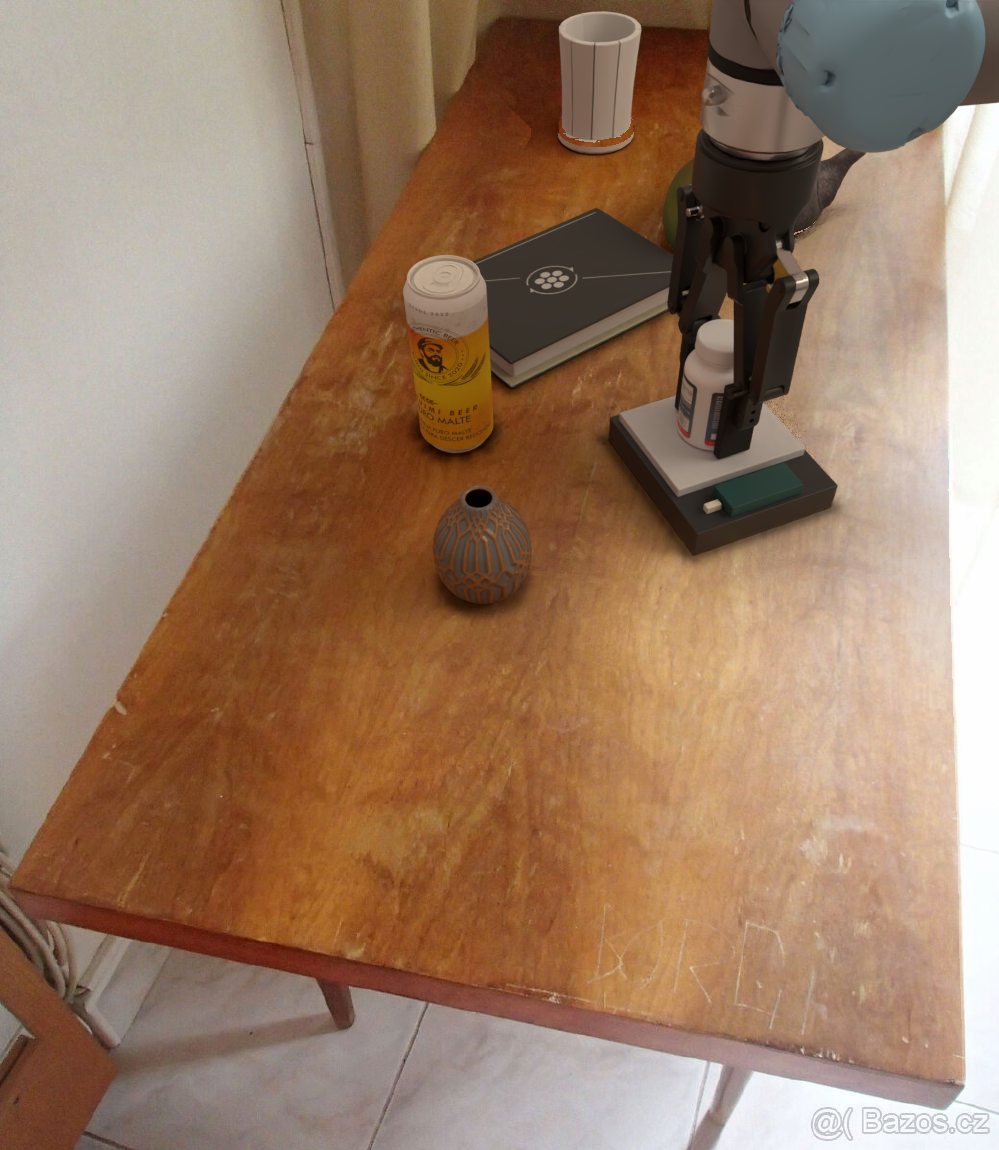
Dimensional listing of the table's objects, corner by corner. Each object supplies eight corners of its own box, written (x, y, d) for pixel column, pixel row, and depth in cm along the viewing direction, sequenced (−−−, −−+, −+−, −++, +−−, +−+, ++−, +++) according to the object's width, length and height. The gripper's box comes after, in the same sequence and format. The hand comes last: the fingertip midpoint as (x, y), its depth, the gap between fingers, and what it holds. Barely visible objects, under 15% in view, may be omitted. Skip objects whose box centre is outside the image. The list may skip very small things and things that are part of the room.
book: (593, 233, 102) (595, 205, 99) (694, 298, 94) (698, 270, 91) (418, 311, 94) (414, 284, 91) (511, 390, 86) (510, 362, 84)
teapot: (856, 251, 98) (883, 154, 90) (699, 248, 99) (711, 151, 92) (835, 157, 110) (857, 64, 102) (695, 155, 111) (706, 63, 104)
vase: (533, 618, 70) (532, 534, 63) (435, 620, 70) (424, 537, 63) (530, 545, 74) (529, 459, 67) (438, 547, 74) (428, 462, 68)
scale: (831, 507, 76) (841, 475, 73) (693, 556, 73) (698, 524, 70) (734, 399, 84) (740, 367, 81) (608, 439, 81) (610, 407, 79)
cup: (537, 124, 117) (537, 16, 108) (605, 107, 120) (610, -1, 110) (579, 163, 111) (582, 51, 102) (649, 144, 113) (659, 33, 104)
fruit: (780, 227, 101) (799, 131, 94) (774, 297, 93) (795, 198, 86) (665, 217, 103) (675, 122, 95) (651, 285, 95) (661, 187, 88)
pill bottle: (756, 422, 77) (776, 327, 70) (727, 461, 75) (745, 367, 68) (694, 399, 79) (708, 305, 72) (664, 437, 77) (676, 342, 70)
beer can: (410, 449, 81) (388, 292, 70) (436, 403, 85) (419, 246, 74) (479, 463, 80) (468, 305, 69) (503, 416, 84) (496, 258, 72)
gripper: (633, 84, 64) (614, 373, 81) (793, 220, 53) (730, 520, 70) (735, 61, 65) (694, 349, 83) (910, 188, 54) (820, 489, 72)
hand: (711, 427), depth 77 cm, fingers closed on pill bottle, 5 cm apart
